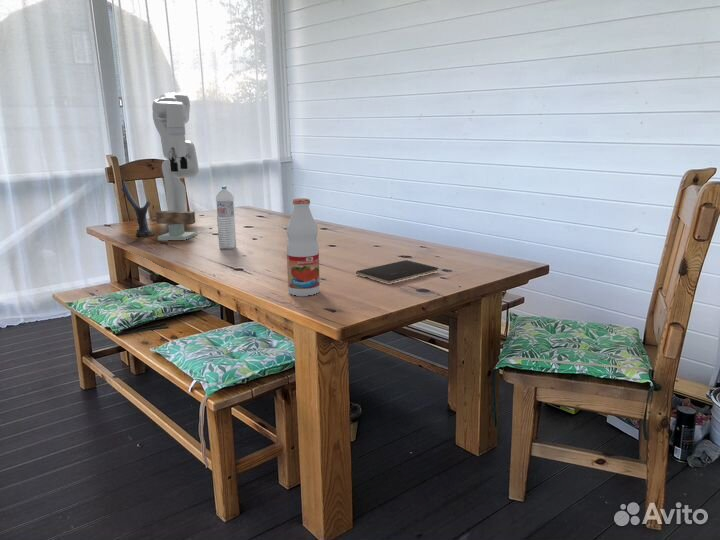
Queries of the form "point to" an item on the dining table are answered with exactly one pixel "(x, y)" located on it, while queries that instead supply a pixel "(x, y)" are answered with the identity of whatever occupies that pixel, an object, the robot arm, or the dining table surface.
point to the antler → (138, 213)
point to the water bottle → (226, 219)
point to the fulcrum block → (176, 233)
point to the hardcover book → (397, 271)
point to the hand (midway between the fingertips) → (179, 170)
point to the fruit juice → (302, 251)
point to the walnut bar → (175, 217)
